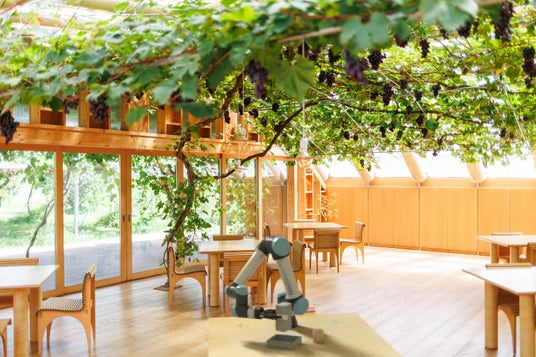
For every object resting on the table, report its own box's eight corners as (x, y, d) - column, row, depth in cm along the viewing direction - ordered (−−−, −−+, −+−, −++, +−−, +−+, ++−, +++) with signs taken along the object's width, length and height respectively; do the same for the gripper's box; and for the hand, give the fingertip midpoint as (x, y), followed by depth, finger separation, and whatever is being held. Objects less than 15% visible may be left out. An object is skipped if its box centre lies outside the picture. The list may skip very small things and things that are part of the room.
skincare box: (283, 327, 307) (282, 301, 307) (292, 329, 302) (292, 302, 303) (274, 330, 300) (274, 304, 301) (284, 332, 296) (283, 305, 296)
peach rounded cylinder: (311, 342, 304) (311, 331, 305) (315, 339, 310) (314, 328, 310) (321, 343, 302) (321, 332, 302) (325, 340, 308) (324, 329, 308)
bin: (266, 347, 298) (266, 340, 298) (276, 340, 311) (276, 333, 311) (292, 350, 291) (292, 343, 291) (301, 342, 304) (301, 336, 304)
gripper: (248, 310, 299) (283, 313, 290) (263, 302, 319) (296, 305, 310) (248, 323, 299) (283, 326, 290) (263, 314, 319) (297, 317, 310)
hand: (290, 315), depth 300 cm, fingers closed on skincare box, 9 cm apart
